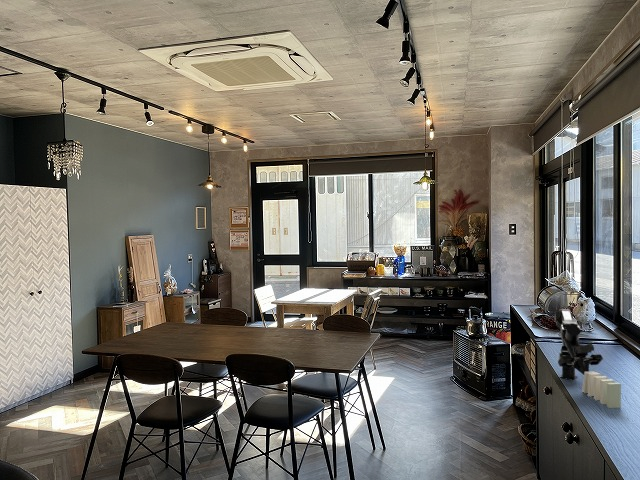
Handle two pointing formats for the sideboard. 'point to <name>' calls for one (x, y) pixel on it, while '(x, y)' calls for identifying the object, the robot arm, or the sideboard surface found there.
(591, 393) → the domino
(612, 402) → the domino
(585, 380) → the domino
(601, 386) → the domino
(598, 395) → the domino
